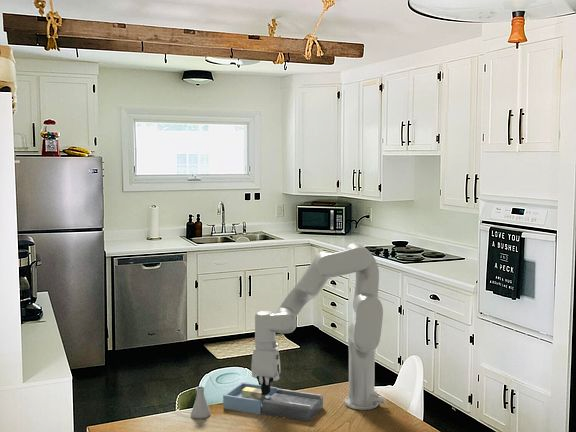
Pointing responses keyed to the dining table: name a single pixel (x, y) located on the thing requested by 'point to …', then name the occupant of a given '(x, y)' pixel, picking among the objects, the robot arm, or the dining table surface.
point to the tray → (244, 399)
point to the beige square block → (257, 394)
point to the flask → (200, 405)
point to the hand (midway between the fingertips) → (265, 394)
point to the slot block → (293, 405)
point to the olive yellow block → (247, 392)
